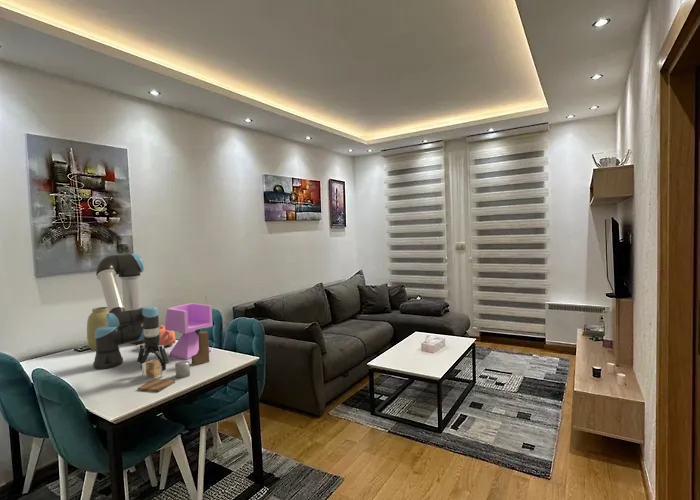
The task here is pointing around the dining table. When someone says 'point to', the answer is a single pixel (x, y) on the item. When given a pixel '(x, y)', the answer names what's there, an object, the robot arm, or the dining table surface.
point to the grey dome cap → (182, 369)
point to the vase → (95, 324)
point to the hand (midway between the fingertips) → (153, 375)
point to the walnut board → (156, 385)
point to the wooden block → (202, 349)
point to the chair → (188, 327)
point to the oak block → (152, 368)
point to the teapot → (166, 336)
